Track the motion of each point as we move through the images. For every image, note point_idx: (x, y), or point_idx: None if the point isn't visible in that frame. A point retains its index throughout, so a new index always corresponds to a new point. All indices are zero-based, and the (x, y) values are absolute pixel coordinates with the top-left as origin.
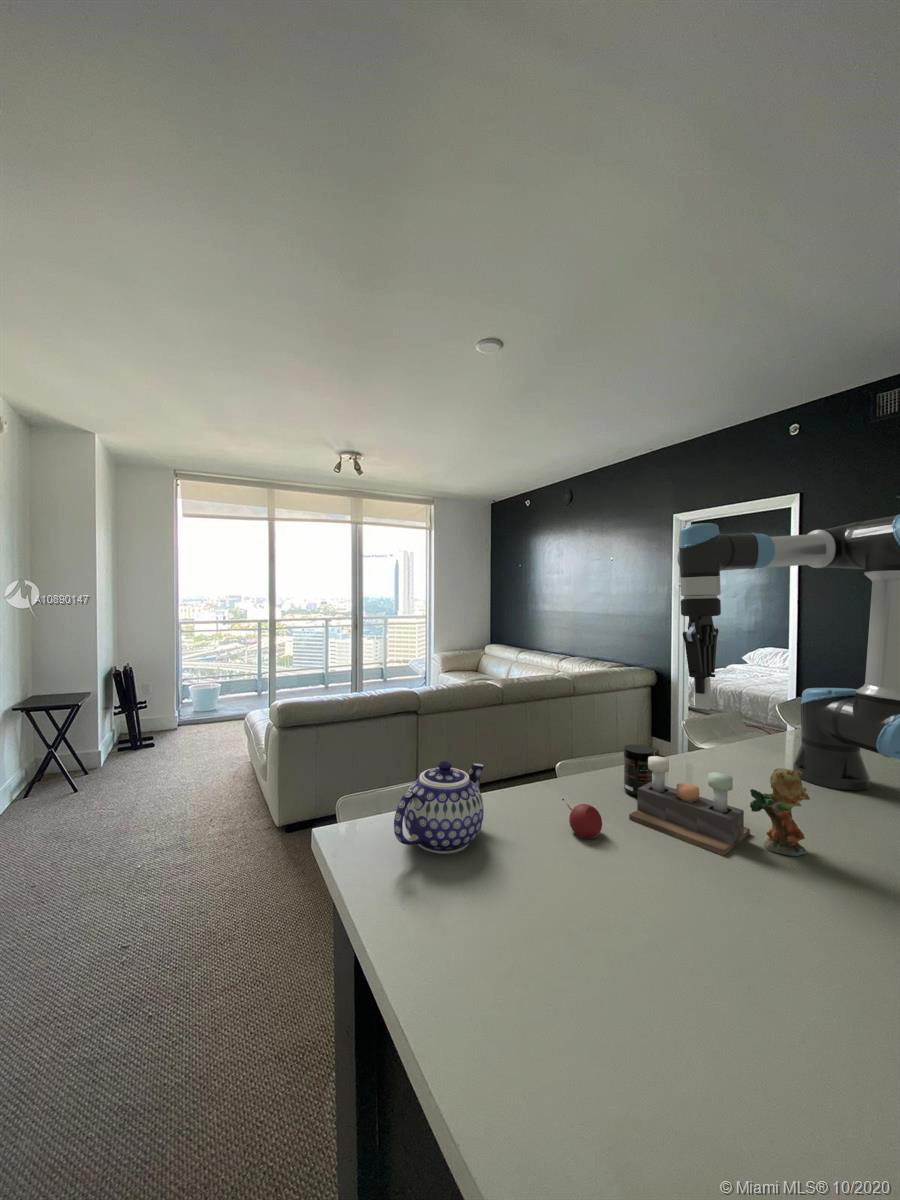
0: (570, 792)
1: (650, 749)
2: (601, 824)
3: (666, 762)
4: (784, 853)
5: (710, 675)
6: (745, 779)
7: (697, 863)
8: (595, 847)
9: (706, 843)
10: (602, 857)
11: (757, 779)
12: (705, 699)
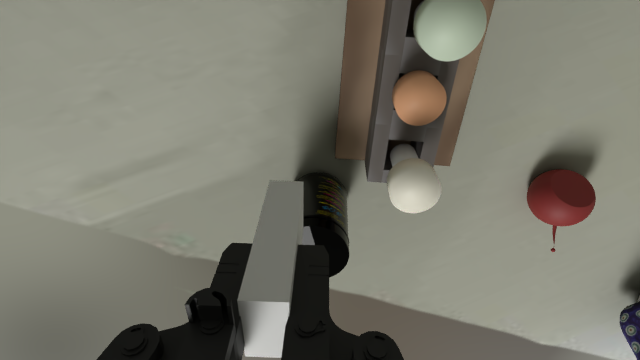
0: (405, 265)
1: None
2: (555, 175)
3: (426, 171)
4: None
5: (233, 314)
6: (43, 72)
7: (558, 4)
8: (591, 154)
9: (490, 14)
10: (622, 132)
11: (13, 51)
12: (299, 220)
